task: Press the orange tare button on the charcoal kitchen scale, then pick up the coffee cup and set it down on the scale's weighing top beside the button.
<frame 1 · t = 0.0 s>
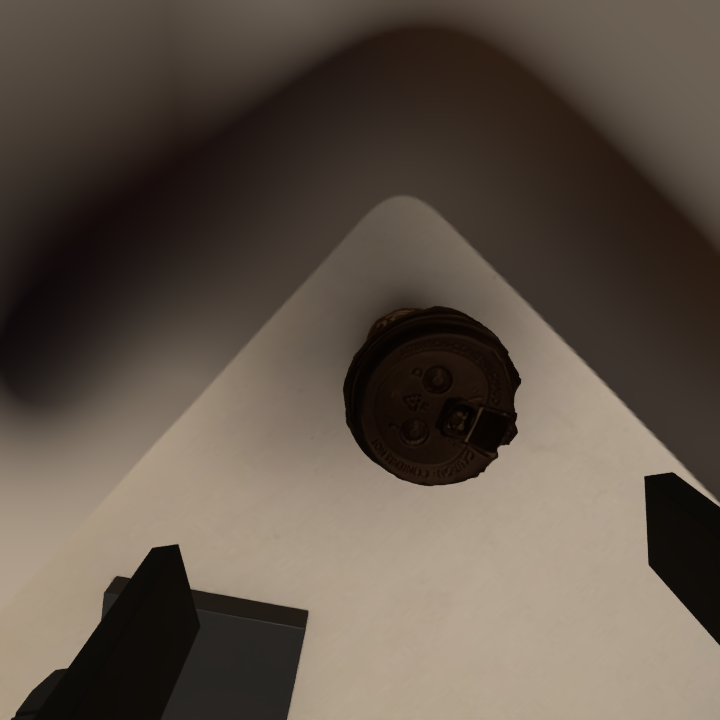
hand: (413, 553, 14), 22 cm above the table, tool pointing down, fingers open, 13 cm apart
coffee cup: (411, 353, 35), on the table
scale: (201, 663, 41), on the table
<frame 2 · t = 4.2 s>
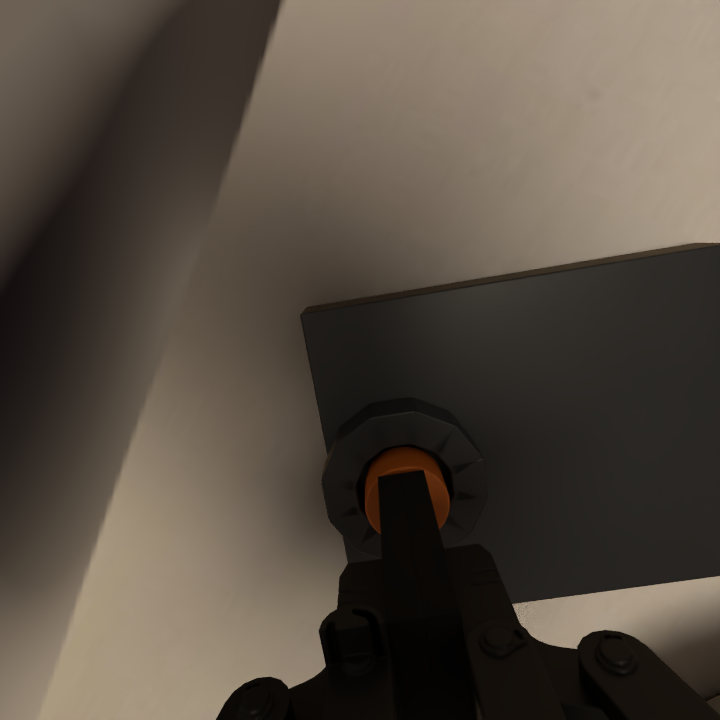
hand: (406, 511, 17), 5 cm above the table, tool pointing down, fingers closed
scale: (514, 433, 21), on the table
tare button: (405, 493, 18), point 4 cm above the table, slide at -0.2 cm, touching gripper
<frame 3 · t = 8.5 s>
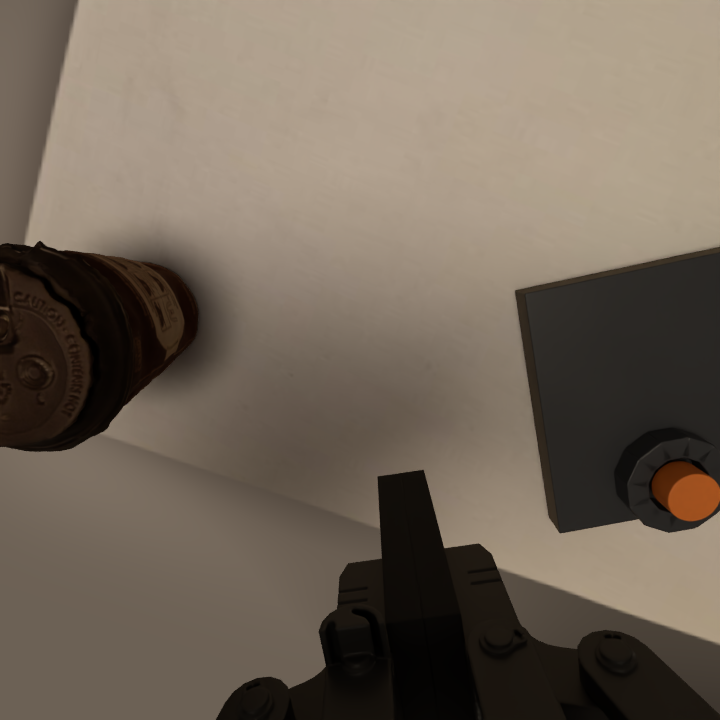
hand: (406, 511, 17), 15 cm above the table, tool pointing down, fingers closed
coffee cup: (149, 311, 31), on the table
scale: (639, 388, 31), on the table
tare button: (684, 490, 28), point 4 cm above the table, slide at 0.1 cm
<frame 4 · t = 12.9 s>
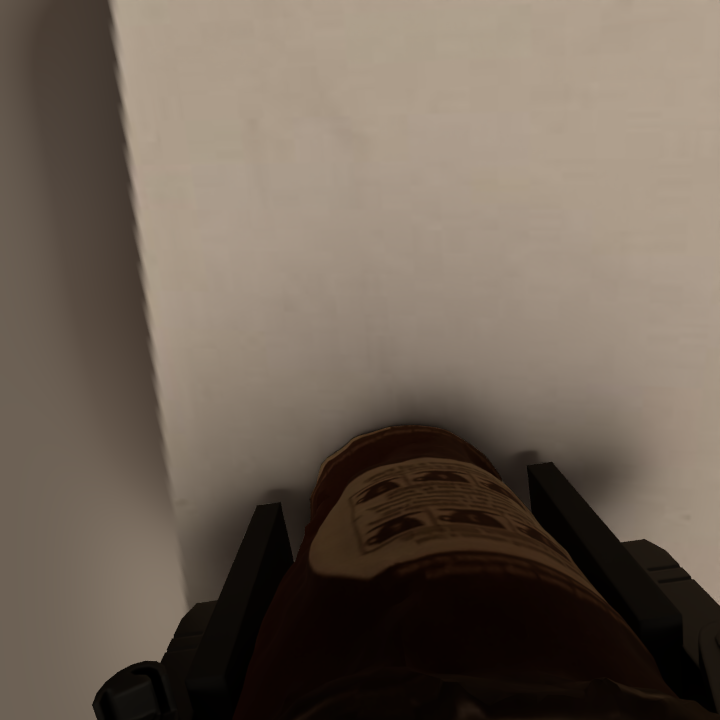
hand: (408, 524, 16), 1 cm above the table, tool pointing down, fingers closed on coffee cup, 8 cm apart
coffee cup: (406, 502, 17), on the table, touching gripper
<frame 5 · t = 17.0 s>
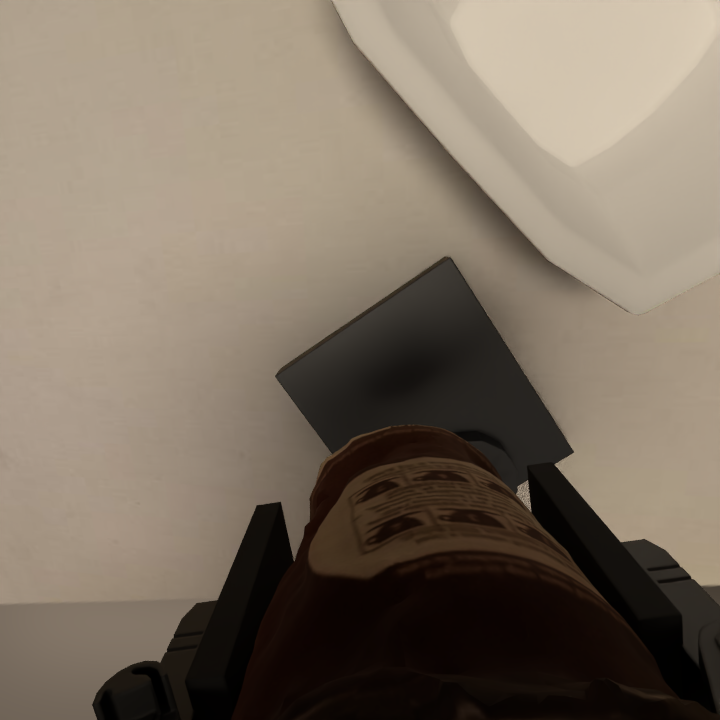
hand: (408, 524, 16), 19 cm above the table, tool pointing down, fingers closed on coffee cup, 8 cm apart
bowl: (579, 29, 30), on the table
coffee cup: (405, 502, 17), point 17 cm above the table, touching gripper
scale: (423, 405, 35), on the table
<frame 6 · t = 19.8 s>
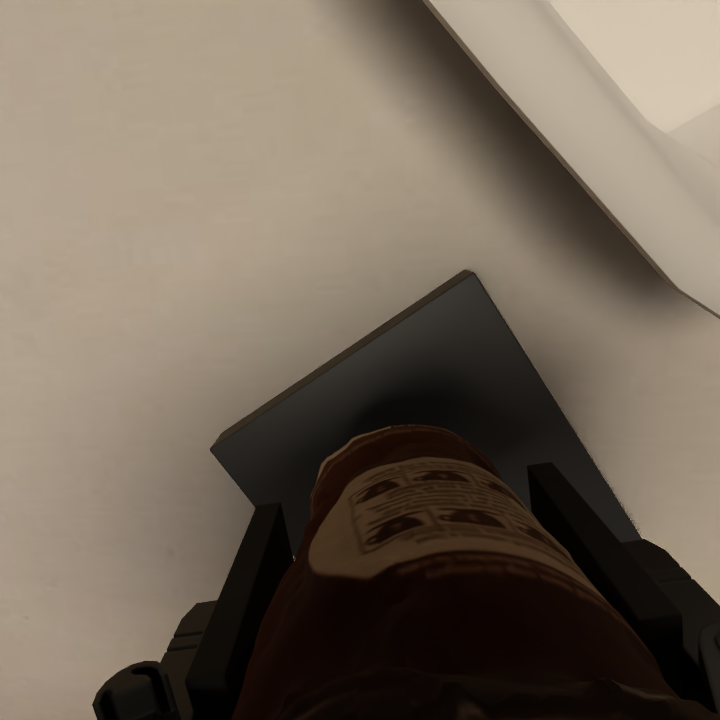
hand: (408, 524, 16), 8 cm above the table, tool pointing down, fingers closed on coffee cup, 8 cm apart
coffee cup: (406, 502, 17), point 6 cm above the table, touching gripper
scale: (431, 485, 24), on the table
when the fingers open (3 cm above the table, at t = 21.5 s): coffee cup stays where it is, resting on scale.
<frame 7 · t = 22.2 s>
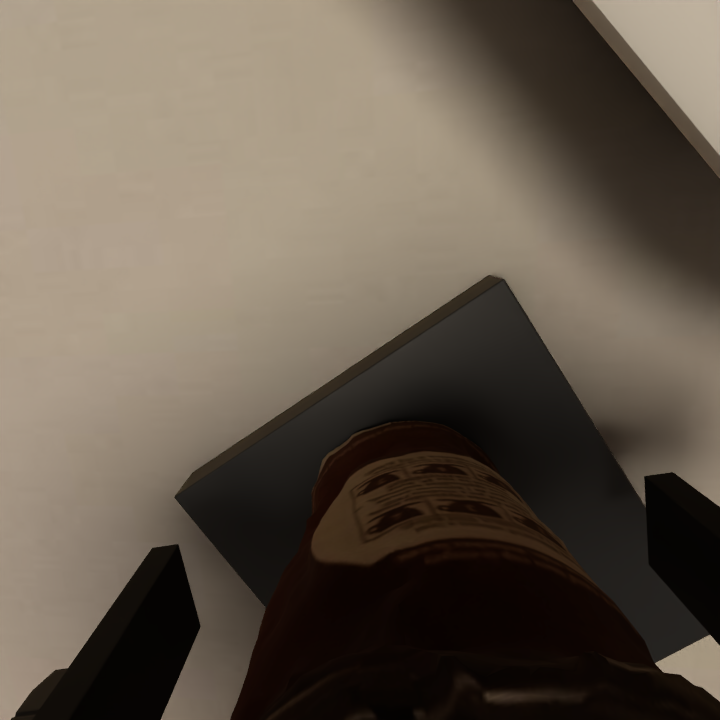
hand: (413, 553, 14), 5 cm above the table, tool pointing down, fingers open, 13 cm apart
coffee cup: (405, 497, 17), point 2 cm above the table, touching scale
scale: (445, 534, 20), on the table
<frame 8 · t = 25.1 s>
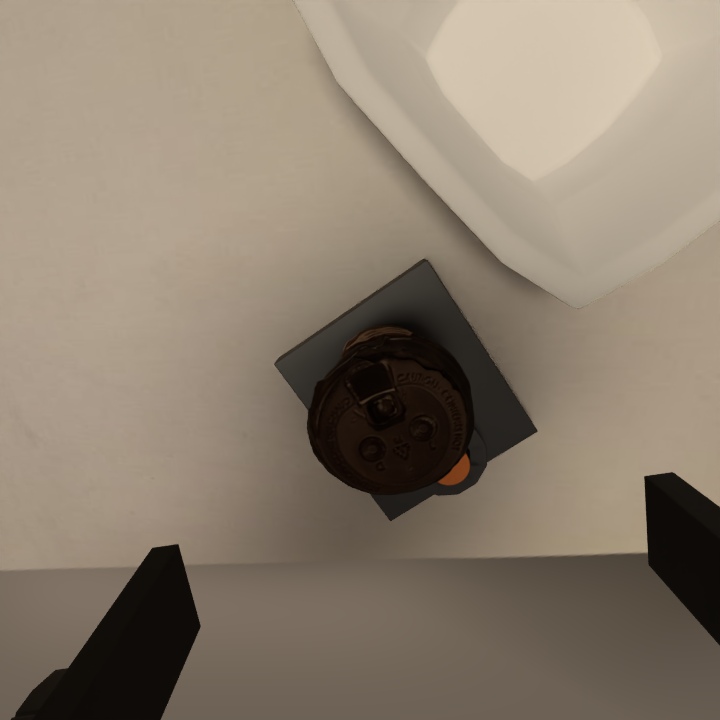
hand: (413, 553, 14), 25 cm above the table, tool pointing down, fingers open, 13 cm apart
bowl: (538, 61, 34), on the table
coffee cup: (384, 364, 37), point 2 cm above the table, touching scale
scale: (405, 390, 39), on the table
tare button: (447, 461, 36), point 4 cm above the table, slide at 0.1 cm
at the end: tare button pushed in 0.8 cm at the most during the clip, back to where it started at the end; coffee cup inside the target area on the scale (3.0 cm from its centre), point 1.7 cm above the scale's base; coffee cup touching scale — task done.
